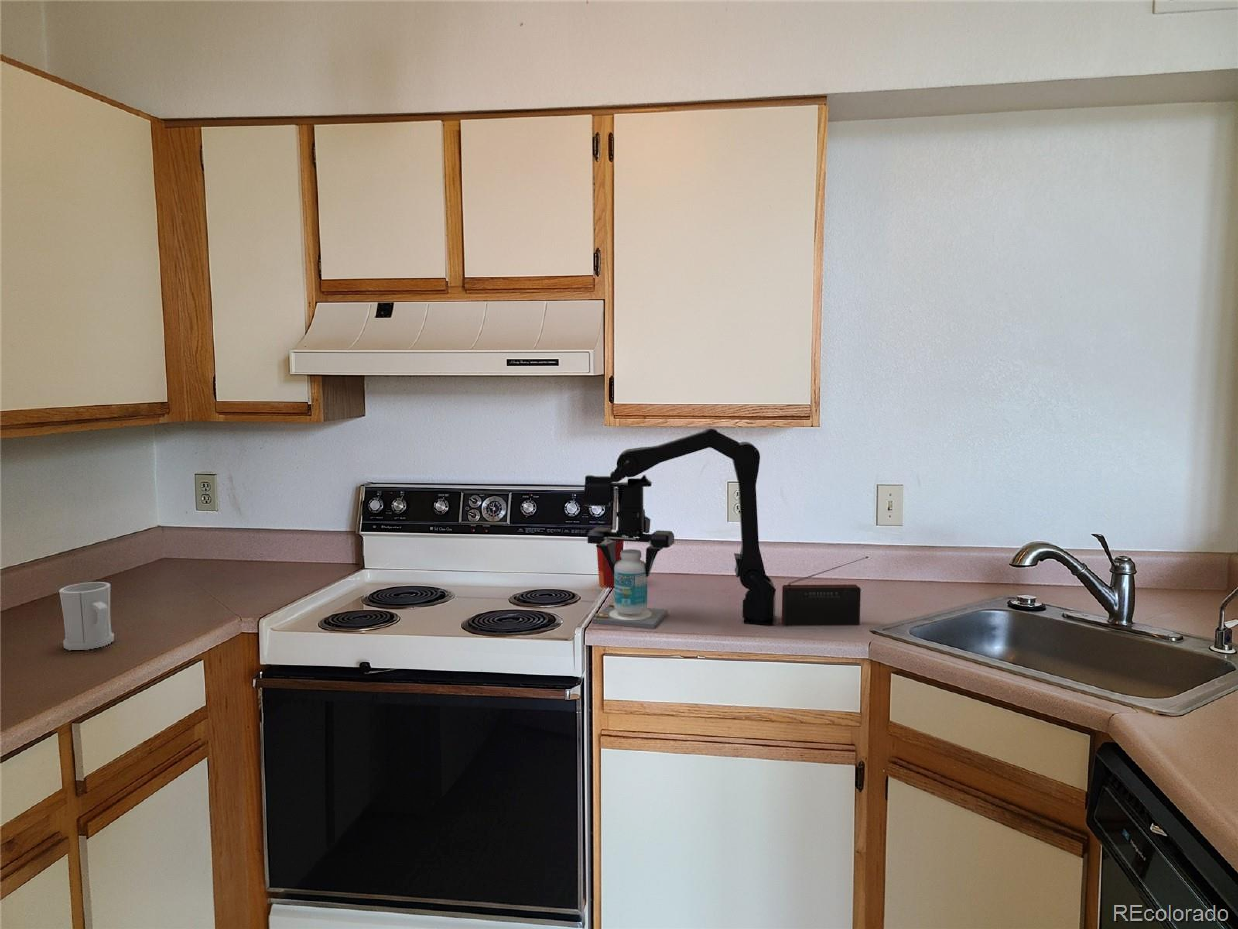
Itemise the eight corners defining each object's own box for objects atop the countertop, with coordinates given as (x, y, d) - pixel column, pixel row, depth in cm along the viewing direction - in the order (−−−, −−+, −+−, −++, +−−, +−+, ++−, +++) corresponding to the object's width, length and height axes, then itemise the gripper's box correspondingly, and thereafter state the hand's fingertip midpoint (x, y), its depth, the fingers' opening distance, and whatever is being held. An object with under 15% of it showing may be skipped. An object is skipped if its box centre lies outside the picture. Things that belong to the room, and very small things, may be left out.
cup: (131, 637, 179) (127, 581, 178) (106, 651, 170) (102, 592, 169) (80, 638, 179) (76, 581, 178) (52, 652, 170) (48, 593, 169)
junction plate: (667, 613, 196) (667, 606, 196) (653, 628, 185) (653, 620, 185) (609, 608, 200) (609, 601, 200) (592, 623, 189) (592, 615, 189)
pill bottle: (607, 609, 193) (607, 550, 191) (632, 604, 198) (632, 546, 196) (629, 617, 187) (628, 556, 186) (654, 610, 192) (654, 551, 190)
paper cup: (630, 584, 223) (630, 531, 222) (613, 590, 217) (613, 536, 216) (605, 580, 228) (605, 528, 226) (588, 586, 221) (588, 532, 220)
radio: (784, 626, 187) (786, 559, 185) (781, 622, 190) (783, 556, 188) (869, 626, 187) (871, 558, 185) (865, 622, 190) (867, 555, 188)
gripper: (680, 502, 195) (680, 570, 196) (602, 499, 200) (603, 564, 202) (667, 510, 184) (667, 581, 186) (586, 506, 190) (586, 575, 191)
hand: (630, 575), depth 192 cm, fingers closed on pill bottle, 7 cm apart
